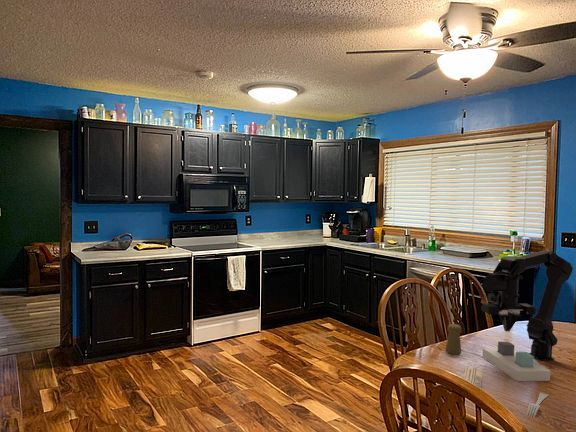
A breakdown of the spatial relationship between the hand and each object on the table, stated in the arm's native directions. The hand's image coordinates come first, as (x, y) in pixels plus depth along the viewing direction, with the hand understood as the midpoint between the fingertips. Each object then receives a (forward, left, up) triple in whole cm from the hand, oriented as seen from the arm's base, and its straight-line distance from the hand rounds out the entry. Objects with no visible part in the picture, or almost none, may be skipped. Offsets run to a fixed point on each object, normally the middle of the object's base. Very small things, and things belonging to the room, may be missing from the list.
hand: (507, 331), depth 167 cm
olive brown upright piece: (+15, -11, -12) cm, 22 cm away
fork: (+10, +33, -13) cm, 36 cm away
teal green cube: (0, +11, -9) cm, 14 cm away
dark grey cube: (0, 0, -9) cm, 9 cm away
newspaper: (+22, +17, -13) cm, 31 cm away
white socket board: (0, +6, -12) cm, 13 cm away
